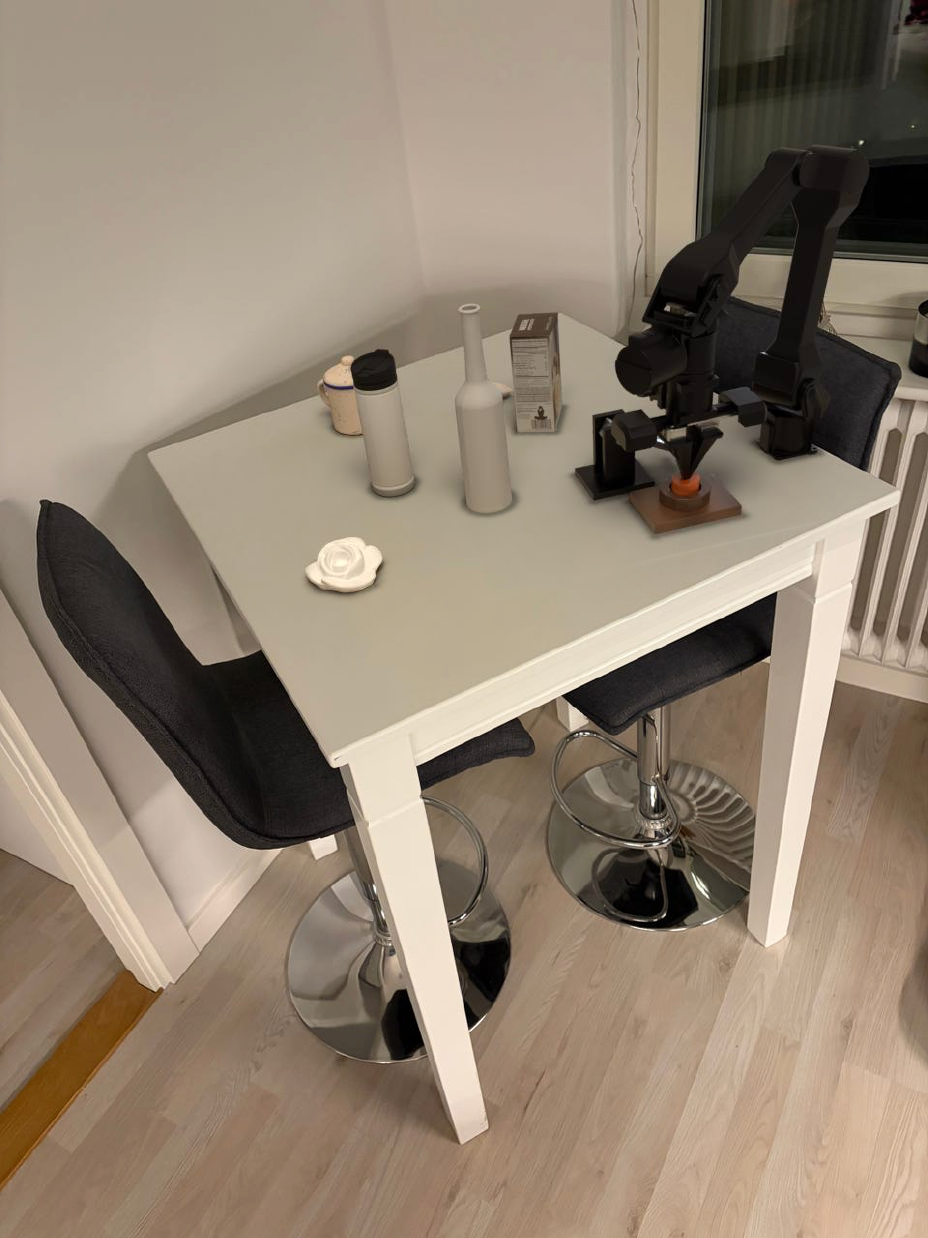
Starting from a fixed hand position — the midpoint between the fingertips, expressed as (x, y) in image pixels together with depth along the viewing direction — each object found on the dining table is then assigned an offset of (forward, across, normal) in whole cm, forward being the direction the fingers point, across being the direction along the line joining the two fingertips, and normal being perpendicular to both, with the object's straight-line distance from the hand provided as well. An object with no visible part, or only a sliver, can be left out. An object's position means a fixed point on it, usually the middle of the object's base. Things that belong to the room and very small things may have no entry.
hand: (685, 477), depth 122 cm
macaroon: (+5, +14, -44) cm, 47 cm away
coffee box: (+5, +10, -34) cm, 35 cm away
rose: (+5, +46, -2) cm, 46 cm away
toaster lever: (0, +2, -10) cm, 11 cm away
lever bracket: (+5, +6, -10) cm, 13 cm away
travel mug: (+5, +36, -22) cm, 43 cm away
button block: (+5, 0, 0) cm, 5 cm away
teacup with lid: (+5, +39, -46) cm, 61 cm away
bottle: (+5, +24, -12) cm, 28 cm away
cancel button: (+2, 0, 0) cm, 2 cm away
